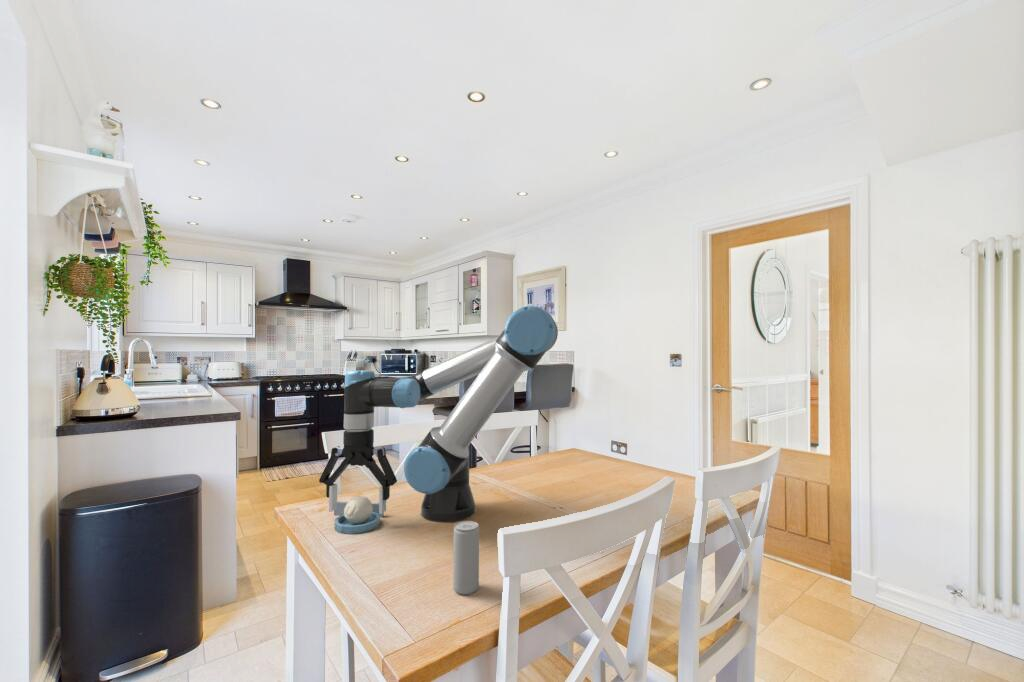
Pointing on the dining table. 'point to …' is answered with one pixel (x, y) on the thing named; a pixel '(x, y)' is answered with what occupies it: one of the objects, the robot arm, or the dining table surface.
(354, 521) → the cream creased ball
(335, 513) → the panel
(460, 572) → the beverage can
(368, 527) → the saucer
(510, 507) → the dining table surface
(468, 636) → the dining table surface
